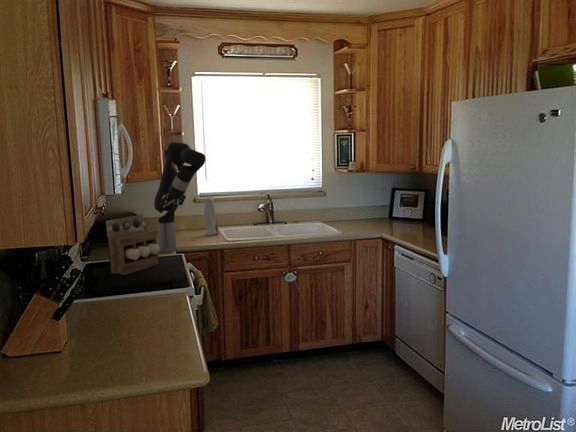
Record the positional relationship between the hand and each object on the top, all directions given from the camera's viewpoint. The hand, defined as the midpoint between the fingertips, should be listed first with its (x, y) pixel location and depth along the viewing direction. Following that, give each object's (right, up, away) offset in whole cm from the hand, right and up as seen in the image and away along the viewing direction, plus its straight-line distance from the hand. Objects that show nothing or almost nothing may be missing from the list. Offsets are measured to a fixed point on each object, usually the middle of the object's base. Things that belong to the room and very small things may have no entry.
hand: (166, 211), depth 247 cm
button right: (-10, -21, +8) cm, 25 cm away
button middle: (-13, -22, +3) cm, 26 cm away
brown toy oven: (-17, -29, +6) cm, 34 cm away
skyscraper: (+7, -16, +98) cm, 99 cm away
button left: (-16, -23, -3) cm, 29 cm away
